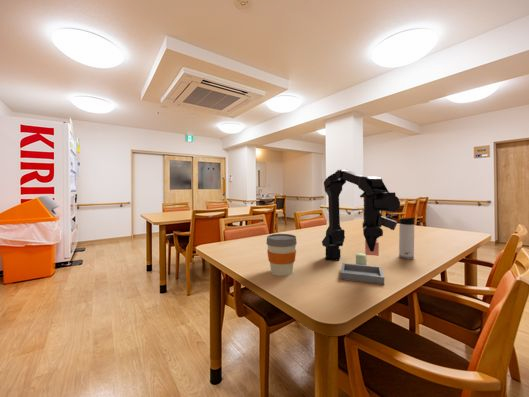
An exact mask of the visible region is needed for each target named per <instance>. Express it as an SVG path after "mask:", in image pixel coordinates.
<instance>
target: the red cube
mask: <svg viewBox="0 0 529 397" xmlns="http://www.w3.org/2000/svg"><path fill="white" fill-rule="evenodd" d="M364 241H365V243H364V246H365V249H364V250H365V251H364V252H365V253H364V254H366V255H367V256H374V257H375V256H376V257H377V256H379V254H380V252H379V251H380V250H379V248H380V247H379V246H380V244H379V240H378V239H377V240H376V244H375V247H374V251H373V252H372V251H370V249H369V247H368V244H367V242H366V239H364Z"/></svg>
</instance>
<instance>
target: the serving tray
mask: <svg viewBox="0 0 529 397" xmlns="http://www.w3.org/2000/svg"><path fill="white" fill-rule="evenodd" d="M340 280H343V281H345V280H346V281H351V282H352V281H353V282H360V283H369V284H377V285H385V275H384V271H383V268H382V266H377V265H367V264H366V265H358V264H356V263H346V262H342V264H341V269H340Z"/></svg>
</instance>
